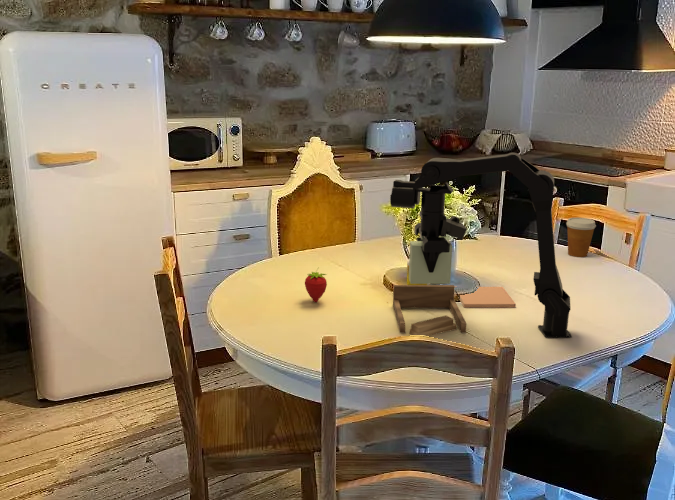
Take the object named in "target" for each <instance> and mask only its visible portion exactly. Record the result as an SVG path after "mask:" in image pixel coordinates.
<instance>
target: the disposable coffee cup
mask: <svg viewBox="0 0 675 500" xmlns="http://www.w3.org/2000/svg"><path fill="white" fill-rule="evenodd" d="M595 221H596V220H593V219H590V218H586V217H571V218H570V217H569V218H568V219H567V221H566V227H567V231H566V232H567V254H568V255H569V256H571V257H574V258H575V257H576V258H586V257H587V256H588V254H589V251H590V247H591V243H592V238H593V235H594V231H595V228H596V227H597V225H596V222H595Z"/></svg>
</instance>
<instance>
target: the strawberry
mask: <svg viewBox="0 0 675 500" xmlns="http://www.w3.org/2000/svg"><path fill="white" fill-rule="evenodd" d="M318 270H319V268H317V269H316V271H311V273H307V276H306V278H305V280H304V285H305V286H304V287H305V290H306V292H307V294H308V295H309V297H310V298H311V300H312V302H314V303H318V301H319V300H320V299H321V298H322V297H323V295H324V294H325V292H326V289H327V286H328V283H327V282H328V281H327V279H326V277H325V276H326V275H328V273H327V274H326V273H319V272H318Z"/></svg>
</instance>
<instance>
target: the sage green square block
mask: <svg viewBox="0 0 675 500" xmlns="http://www.w3.org/2000/svg"><path fill="white" fill-rule="evenodd" d="M447 241H448V240H447ZM448 242H449V244H450V252H448V253H441V254H439V257H438V260H437V263H436V266H435V269H434V272H433V273H429V271H428V268H427V265H426V262H425V259H424V256H423V253H422V250H421V246H422V241H417V240H416V241H415V240H413V241H412V240H410V241H409V258H408V260H409V281H410V283H411V284H430V285H451V277H452V274H451V273H452V258H453V245H452V242H451V241H448Z"/></svg>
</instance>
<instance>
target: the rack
mask: <svg viewBox="0 0 675 500" xmlns="http://www.w3.org/2000/svg"><path fill="white" fill-rule="evenodd" d="M455 287H456V286H455V285H454V284H430V285H407V284H393V292H392V294H393V295H392V307H393V312H394V315H395V319H396V323H397V327H398V331H399V333H403V334H404V333H406V321H405V317H404V314H403V312H402V308H403V309H404V308H405V309H406V308H409V309H410V308H411V309H412V308H419V309H421V308H424V309H425V308H431V309H432V308H434V309H435V308H437V309H439V308H448V309H449V311H450V313H451V315H452V318H453V319H454V321H455V324H456V325H457V327H458V329H459V331H460V333H461V334H463V333H467V322H466V319H465V318H464V316H463V313H462V312H461V310H460V308H459V306H458V304H457V302H456V300H455V290H454V288H455Z"/></svg>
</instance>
